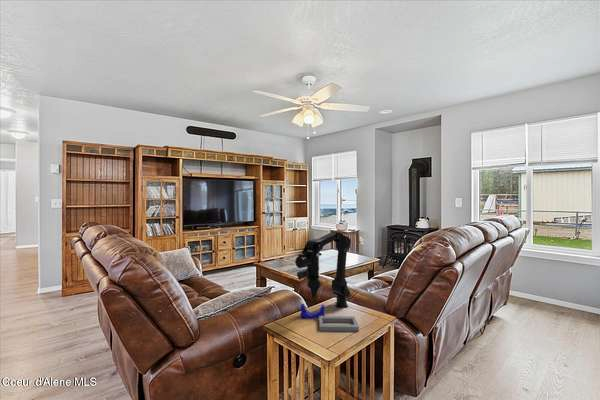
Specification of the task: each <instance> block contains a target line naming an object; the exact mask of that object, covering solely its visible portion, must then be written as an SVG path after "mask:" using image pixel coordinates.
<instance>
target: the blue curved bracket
mask: <svg viewBox="0 0 600 400" xmlns="http://www.w3.org/2000/svg"><path fill="white" fill-rule="evenodd" d="M319 316H325V304H321V307H320V308H319V310H318V311H317V312H316V311H315V312H311V311H308V310H307V309H306V307H305V304H304V303H301V305H300V319H301V320H303V319H304V320H306V319H307V320H313V319H319Z"/></svg>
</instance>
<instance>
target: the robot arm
mask: <svg viewBox="0 0 600 400" xmlns="http://www.w3.org/2000/svg"><path fill="white" fill-rule="evenodd" d="M332 242H334V243H335V248H336V250H337V261H336V273H335V278H334V279H332V280H331V286H330V287H331V290H332V294H334V295H336V302H335V307H336V308H348V307H349V305H348V303H347V301H348V300H347V298H349V297H350V296H351V290H350V289H349V288H348V281H347V280H346V265H347V254H348V251H349V250H350V248H351V244H352V240H351V238H350V237H349V236H346V235H345V234H343V233H341V232H340V231H337V230H336V231H335V230H332V231H330V232H329V233H327V234H325V235H323V236H320V237H319V238H314V239H313V238H312V239H309V240H307V241H306V243H305V246H304V248H303V250H302V252H301V253H298V255H297V257H296V258H295V261H294V263H295V266H296V267H297V268H299V269H301V270H299V271H296V276H297V279H298V281H300V280H302V279H305V278H307V281H306V282H307V287H308V288H309V289H310V292H311V298H312V299H315V298H316V296H317V293H318V292H319V288H320V287H321V280H320V279H319V278H320V273H319V272H320V265H319V263H320V256H322V253H321V252H320V251H322V250H323V248H324V247H325V246H326V245H328V244H330V243H332ZM303 268H305V269H303Z"/></svg>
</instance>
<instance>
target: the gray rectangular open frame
mask: <svg viewBox="0 0 600 400" xmlns="http://www.w3.org/2000/svg"><path fill="white" fill-rule="evenodd" d="M318 322H319V324H318V325H319V332H360V327H359V324H358V322H357V319H356V317H355V315H353V316H352V315H351V316H350V315H349V316H348V315H347V316H346V315H343V316H342V315H341V316H338V315H324V316H322V315H321V316H319V318H318ZM324 323H325V324H324ZM327 323H329V324H327ZM331 323H332V324H331ZM333 323H334V324H333ZM335 323H338V324H335ZM339 323H352V324H339Z"/></svg>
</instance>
